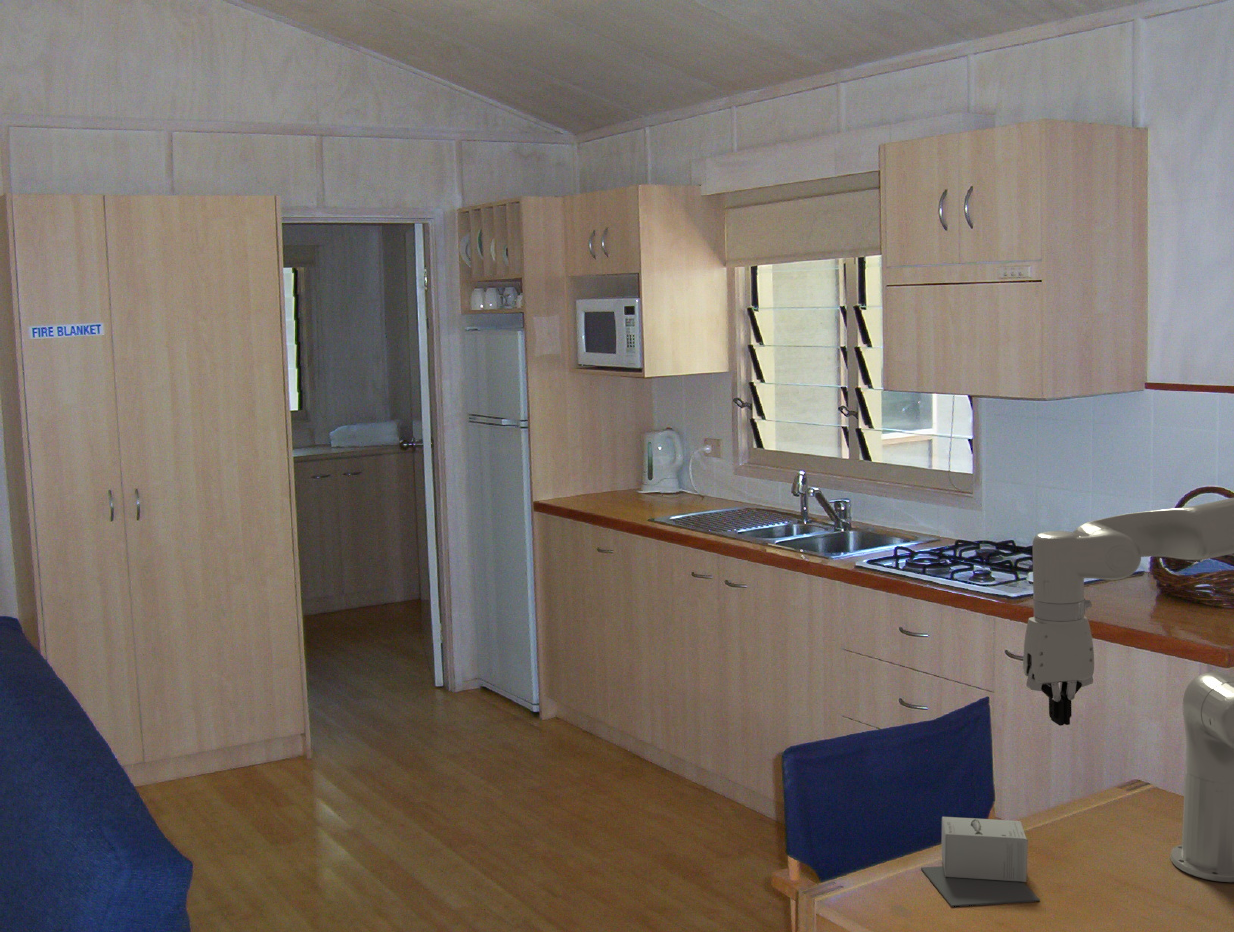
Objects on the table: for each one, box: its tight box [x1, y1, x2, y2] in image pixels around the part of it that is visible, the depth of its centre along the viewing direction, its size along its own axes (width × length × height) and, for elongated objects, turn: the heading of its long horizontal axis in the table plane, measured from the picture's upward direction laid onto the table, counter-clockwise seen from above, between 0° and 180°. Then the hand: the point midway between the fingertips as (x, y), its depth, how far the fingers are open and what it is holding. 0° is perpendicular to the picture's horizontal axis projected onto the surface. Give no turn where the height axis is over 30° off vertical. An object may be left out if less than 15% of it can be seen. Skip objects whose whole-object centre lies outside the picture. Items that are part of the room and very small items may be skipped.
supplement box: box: [941, 816, 1029, 883], centre depth 197 cm, size 7×7×13 cm
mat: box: [920, 865, 1041, 908], centre depth 194 cm, size 14×13×1 cm
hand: (1060, 722), depth 196 cm, fingers closed
